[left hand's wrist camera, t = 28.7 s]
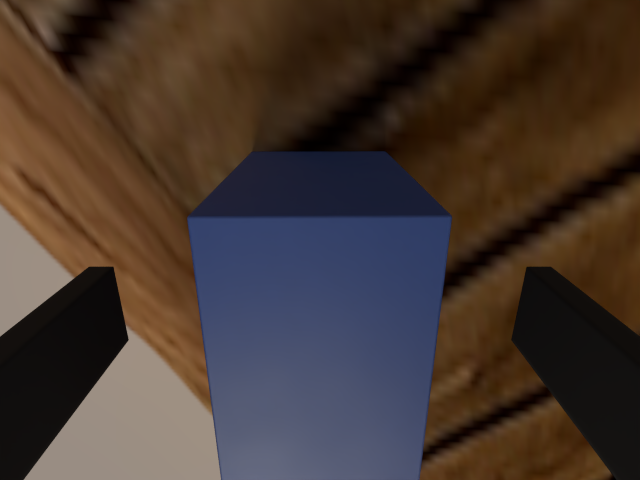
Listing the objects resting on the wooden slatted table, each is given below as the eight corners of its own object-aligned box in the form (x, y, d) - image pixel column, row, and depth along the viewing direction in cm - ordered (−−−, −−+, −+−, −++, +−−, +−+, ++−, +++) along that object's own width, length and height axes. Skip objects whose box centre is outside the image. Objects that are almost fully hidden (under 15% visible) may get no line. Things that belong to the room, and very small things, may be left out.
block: (251, 151, 16) (186, 216, 8) (386, 151, 16) (453, 215, 8) (262, 329, 19) (223, 504, 11) (375, 329, 19) (416, 502, 11)
